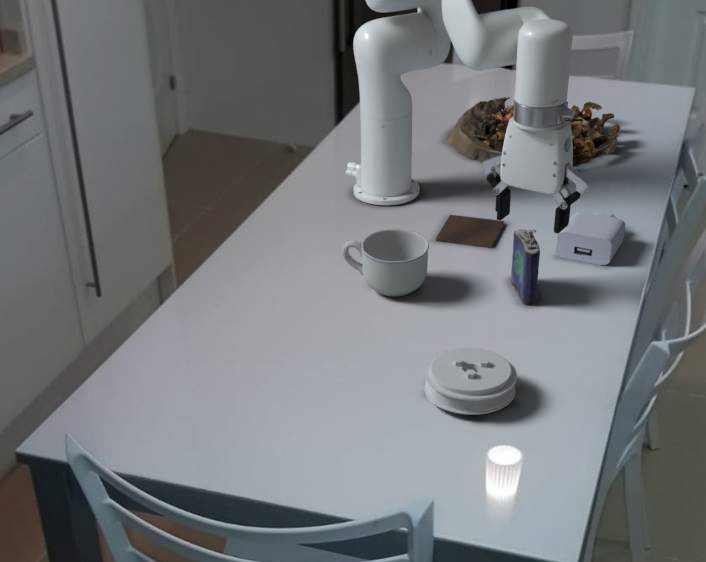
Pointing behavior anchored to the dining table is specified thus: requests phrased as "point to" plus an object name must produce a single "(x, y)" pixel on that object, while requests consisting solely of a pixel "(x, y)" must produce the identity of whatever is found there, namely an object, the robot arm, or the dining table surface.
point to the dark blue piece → (525, 265)
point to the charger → (591, 238)
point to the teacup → (391, 260)
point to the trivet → (470, 231)
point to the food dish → (491, 124)
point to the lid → (470, 381)
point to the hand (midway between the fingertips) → (531, 223)
